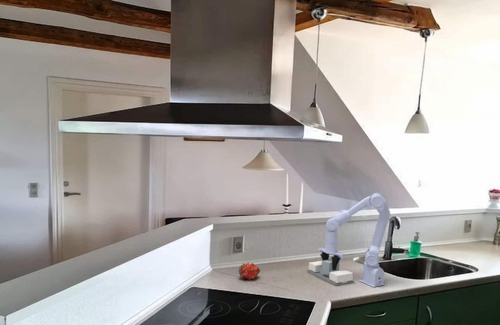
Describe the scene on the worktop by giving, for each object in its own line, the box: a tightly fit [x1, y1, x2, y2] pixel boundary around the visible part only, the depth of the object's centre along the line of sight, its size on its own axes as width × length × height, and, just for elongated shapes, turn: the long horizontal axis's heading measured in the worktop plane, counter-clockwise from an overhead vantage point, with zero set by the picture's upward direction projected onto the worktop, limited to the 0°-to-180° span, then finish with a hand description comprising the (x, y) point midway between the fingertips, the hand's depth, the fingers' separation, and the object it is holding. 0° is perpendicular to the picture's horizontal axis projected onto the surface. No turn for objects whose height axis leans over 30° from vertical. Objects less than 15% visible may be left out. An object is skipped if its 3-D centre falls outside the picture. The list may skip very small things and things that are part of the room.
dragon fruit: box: [238, 262, 261, 281], centre depth 182 cm, size 8×8×12 cm
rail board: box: [306, 260, 355, 287], centre depth 188 cm, size 22×12×5 cm, turn 28°
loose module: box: [321, 258, 341, 275], centre depth 189 cm, size 4×9×6 cm, turn 133°
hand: (330, 268), depth 188 cm, fingers closed on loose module, 4 cm apart
